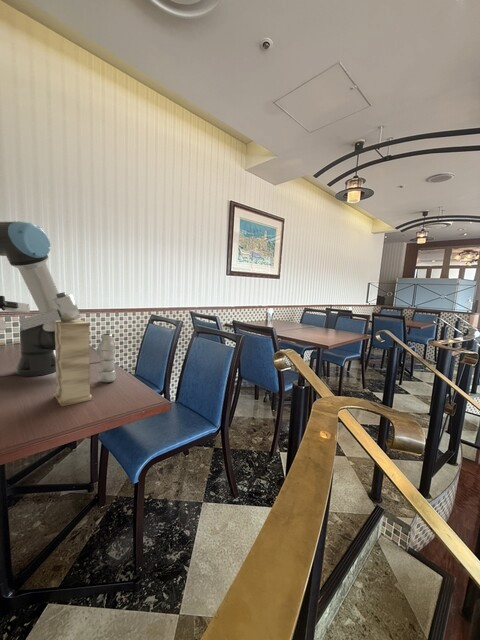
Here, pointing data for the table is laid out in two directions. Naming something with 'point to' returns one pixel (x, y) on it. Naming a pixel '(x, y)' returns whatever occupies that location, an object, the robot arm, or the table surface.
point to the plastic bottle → (106, 359)
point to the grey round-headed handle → (54, 312)
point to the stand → (72, 362)
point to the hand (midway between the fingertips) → (16, 317)
